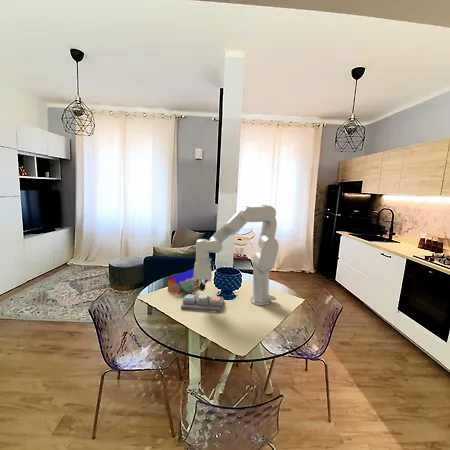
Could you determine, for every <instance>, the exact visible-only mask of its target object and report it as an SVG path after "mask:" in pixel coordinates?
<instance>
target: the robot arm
mask: <svg viewBox="0 0 450 450" xmlns="http://www.w3.org/2000/svg"><path fill="white" fill-rule="evenodd" d="M276 216H277V211H276V209H275V207H274V206H272V205H268V204H260V205H259V206H254V207H253V206H247V205H245V206H241V208H240V209H238V210H237V212H235V214H234V215H233V216H232V217H230V219H229V220H227V222H226V223H225V224H224V225H222V226H221V227H220V228H218V230H217V231H216V232H214V233H213V235H212V236H211V237H210V238H209V239H205V238H199V239H197V240H196V242H195V262H194V265H193V266H194V267H193V269H194V279H193V280H195V281H197V282H198V283H199V290H200V292H201V291H202V292H204V291H205V290H206V284H207V283H208V282H211V281H212V264H211V262H212V258H210V256H209V255H210V253H213V254H214V253H215V254H218V253H220V252H221V251H222V250H223V244H222V243H224V241H225V240H226V239H228V238H229V237H231V236H233V235H236V234H237V233H239V232H240V231H241V230H242V228H244V227H245V226H246V225H247V223H260V222H261V223H262V226H261V232H260V234H259V238H258V242H257V244H258V247H259V248H260V249H261V250H258V251H255V253H254V254H253V256H252V268H253V273H252V276H253V277H252V282H253V283H252V296H251V297H250V303H252V304H253V305H256V306H267V305H270V304H271V302H272V301H276V299H277V297H276V296H274V295H270V293H269V291H270V290H269V288H270V287H269V286H270V283H269V282H270V281H269V280H270V279H269V278H270V271H271V270H273V268H274V267H275V265H276V264H275V263H276V261H277V260H276V259H277V257H278V253H279V246H280V245H279V242H278V240H277V239H276V238H275V237H276V232H277V226H278V224H277V218H276Z"/></svg>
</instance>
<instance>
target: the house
mask: <svg viewBox="0 0 450 450" xmlns="http://www.w3.org/2000/svg"><path fill="white" fill-rule="evenodd" d="M192 276H193V277H194V268H192V269H189V270H186V271H184V272H180V273H178V274H175V275H172V276H170V278H169V279H168V280H167V291H169V292H172V293H173V294H176V293H177V294H176V295H181V294H180V293H181V287H180V284H179V283H180V281H184V280H186V279H190V278H192ZM198 285H199V286H200V284H199V283H198V282H197V281H195V283H194V287H195V286H197V287H199V286H198ZM195 288H196V287H195Z"/></svg>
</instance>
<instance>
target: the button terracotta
mask: <svg viewBox="0 0 450 450" xmlns="http://www.w3.org/2000/svg"><path fill="white" fill-rule="evenodd" d="M211 297H212V296H211ZM221 297H222V296H213V297H212V299H211V301H218V302H220V301H221Z"/></svg>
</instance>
